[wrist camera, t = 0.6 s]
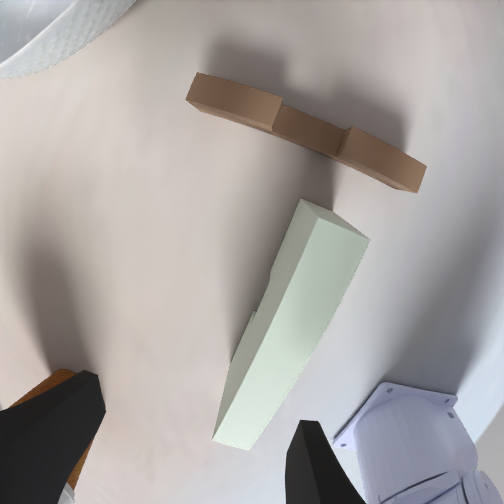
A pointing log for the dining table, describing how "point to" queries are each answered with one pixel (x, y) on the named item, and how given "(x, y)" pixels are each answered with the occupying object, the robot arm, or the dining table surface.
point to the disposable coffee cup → (68, 492)
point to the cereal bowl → (50, 31)
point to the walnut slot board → (306, 130)
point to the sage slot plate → (288, 320)
